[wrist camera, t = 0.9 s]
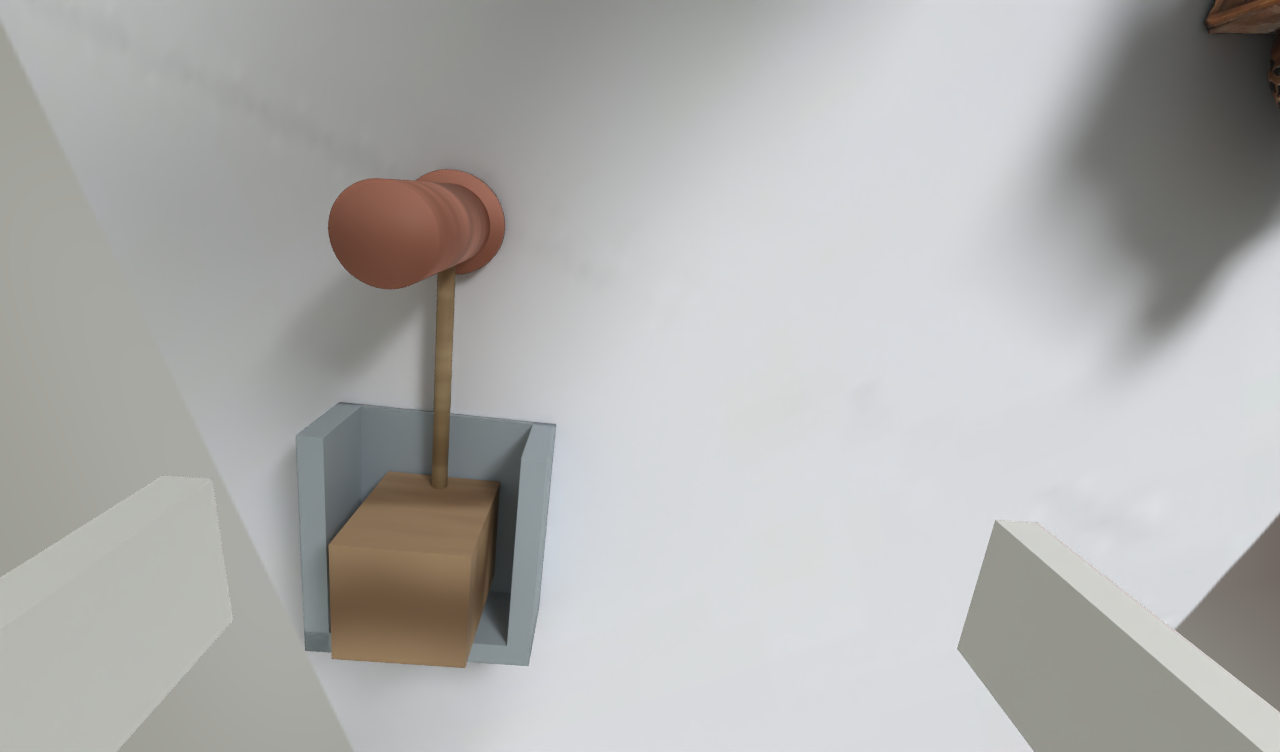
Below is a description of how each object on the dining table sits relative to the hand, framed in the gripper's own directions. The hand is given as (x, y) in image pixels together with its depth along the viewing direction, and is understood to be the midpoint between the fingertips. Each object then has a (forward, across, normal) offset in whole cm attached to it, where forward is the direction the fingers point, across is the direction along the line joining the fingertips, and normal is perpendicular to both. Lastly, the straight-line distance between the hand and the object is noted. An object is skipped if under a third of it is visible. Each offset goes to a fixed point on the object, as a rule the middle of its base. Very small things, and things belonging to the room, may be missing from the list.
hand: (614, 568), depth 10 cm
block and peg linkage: (+21, -8, -4) cm, 23 cm away
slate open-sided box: (+21, -9, -12) cm, 26 cm away
